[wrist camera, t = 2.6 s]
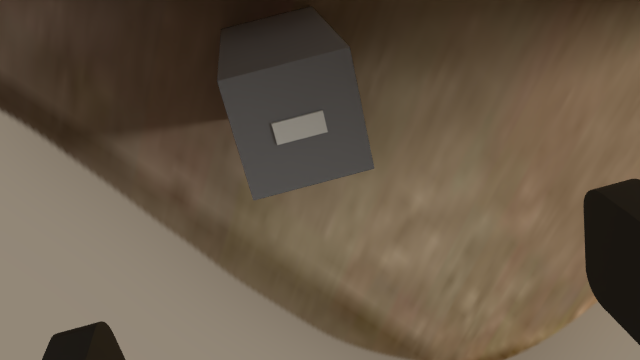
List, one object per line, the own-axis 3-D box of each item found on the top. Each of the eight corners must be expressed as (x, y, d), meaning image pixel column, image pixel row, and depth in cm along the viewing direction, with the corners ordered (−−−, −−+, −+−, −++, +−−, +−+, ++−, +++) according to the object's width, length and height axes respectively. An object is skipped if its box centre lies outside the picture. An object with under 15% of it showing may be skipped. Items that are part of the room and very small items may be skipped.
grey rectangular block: (311, 6, 26) (350, 47, 17) (331, 94, 27) (374, 169, 19) (221, 29, 26) (216, 82, 17) (246, 116, 27) (253, 201, 19)
